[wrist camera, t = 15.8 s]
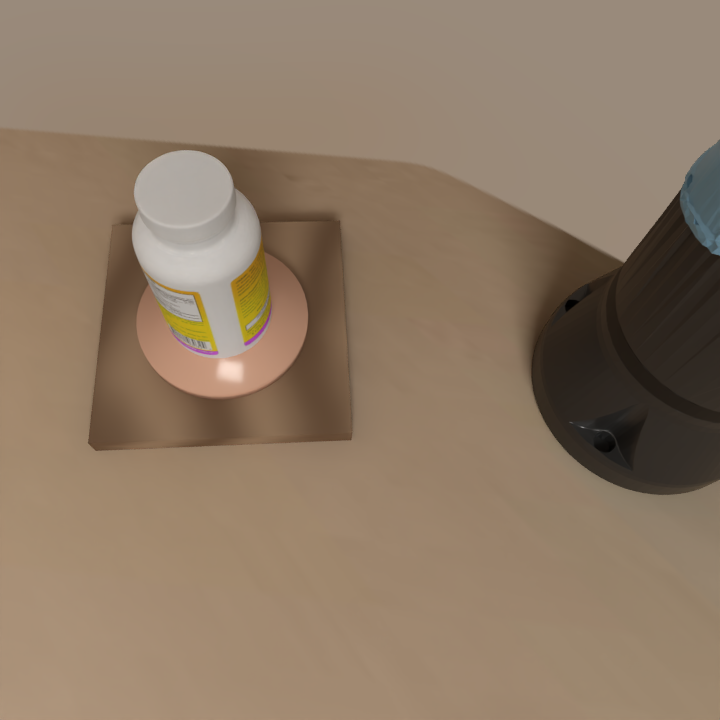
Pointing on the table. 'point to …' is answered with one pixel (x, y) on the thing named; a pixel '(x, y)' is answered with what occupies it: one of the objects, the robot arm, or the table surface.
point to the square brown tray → (231, 416)
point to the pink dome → (237, 371)
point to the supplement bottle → (202, 254)
